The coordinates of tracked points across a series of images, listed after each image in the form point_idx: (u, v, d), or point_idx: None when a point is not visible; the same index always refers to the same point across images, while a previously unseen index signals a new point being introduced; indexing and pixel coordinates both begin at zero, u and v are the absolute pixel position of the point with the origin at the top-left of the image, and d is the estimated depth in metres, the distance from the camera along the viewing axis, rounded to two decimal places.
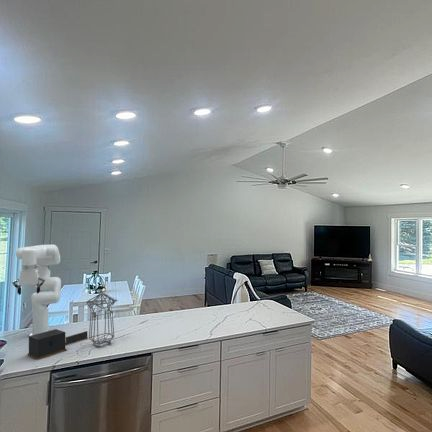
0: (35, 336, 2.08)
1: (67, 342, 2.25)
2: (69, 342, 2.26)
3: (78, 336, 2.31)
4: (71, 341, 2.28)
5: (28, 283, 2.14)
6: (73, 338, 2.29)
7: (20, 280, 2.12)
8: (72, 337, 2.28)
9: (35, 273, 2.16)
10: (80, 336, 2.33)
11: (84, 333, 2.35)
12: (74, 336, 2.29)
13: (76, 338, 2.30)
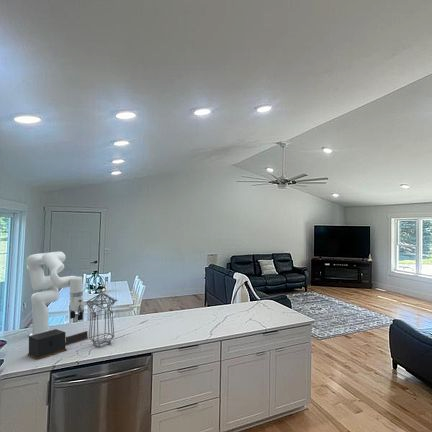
0: (35, 336, 2.08)
1: (67, 342, 2.25)
2: (69, 342, 2.26)
3: (78, 336, 2.31)
4: (71, 341, 2.28)
5: (73, 309, 2.29)
6: (73, 338, 2.29)
7: (70, 305, 2.31)
8: (72, 337, 2.28)
9: (76, 301, 2.27)
10: (80, 336, 2.33)
11: (84, 333, 2.35)
12: (74, 336, 2.29)
13: (76, 338, 2.30)
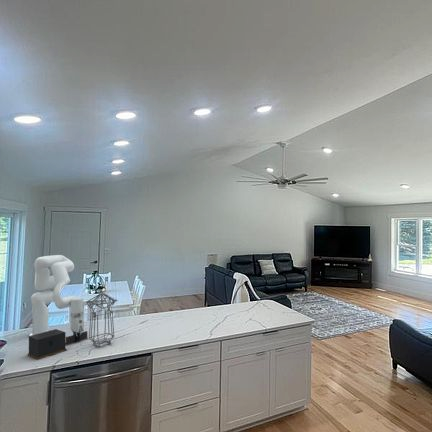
0: (35, 336, 2.08)
1: (67, 342, 2.25)
2: (69, 342, 2.26)
3: None
4: (71, 341, 2.28)
5: (73, 330, 2.29)
6: (73, 338, 2.29)
7: (70, 326, 2.31)
8: (72, 337, 2.28)
9: (76, 322, 2.27)
10: (80, 336, 2.33)
11: (84, 333, 2.35)
12: (74, 336, 2.29)
13: None
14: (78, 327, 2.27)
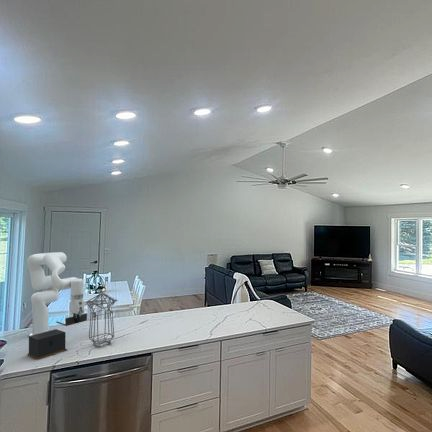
0: (35, 336, 2.08)
1: (67, 323, 2.26)
2: (69, 323, 2.27)
3: None
4: (71, 322, 2.28)
5: (73, 311, 2.29)
6: (73, 320, 2.29)
7: (70, 307, 2.31)
8: (72, 318, 2.28)
9: (76, 303, 2.28)
10: (80, 318, 2.33)
11: (84, 315, 2.35)
12: (74, 318, 2.29)
13: None
14: (78, 309, 2.28)
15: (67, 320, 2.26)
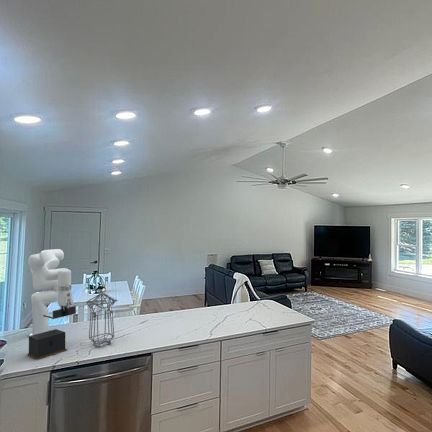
0: (35, 336, 2.08)
1: (54, 316, 2.14)
2: (56, 316, 2.15)
3: None
4: (58, 315, 2.17)
5: (61, 304, 2.18)
6: (60, 313, 2.18)
7: (57, 300, 2.20)
8: (59, 311, 2.17)
9: (64, 295, 2.17)
10: (68, 311, 2.22)
11: (72, 308, 2.24)
12: (62, 310, 2.18)
13: None
14: (66, 300, 2.17)
15: (54, 313, 2.15)
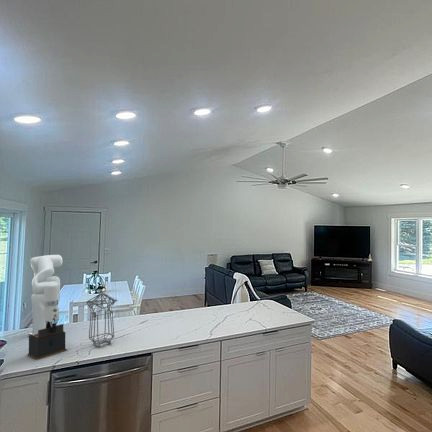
0: None
1: (39, 336, 2.04)
2: (42, 336, 2.05)
3: None
4: (44, 335, 2.06)
5: (47, 320, 2.08)
6: (47, 332, 2.07)
7: (44, 315, 2.10)
8: (45, 330, 2.07)
9: (50, 310, 2.06)
10: None
11: (59, 326, 2.14)
12: (48, 329, 2.08)
13: None
14: (52, 316, 2.06)
15: (40, 332, 2.04)
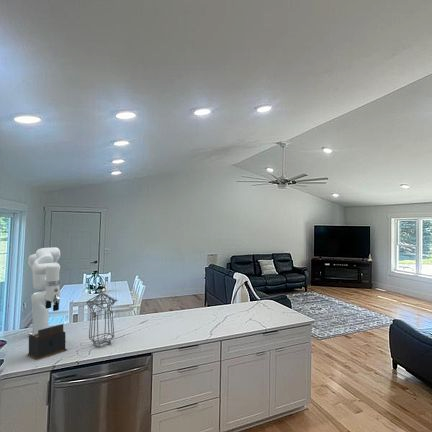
0: None
1: (39, 336, 2.04)
2: (42, 336, 2.05)
3: (52, 330, 2.10)
4: (44, 335, 2.06)
5: (48, 299, 2.15)
6: (47, 332, 2.07)
7: (45, 295, 2.17)
8: (45, 330, 2.07)
9: (51, 290, 2.13)
10: (55, 330, 2.11)
11: (59, 326, 2.14)
12: (48, 329, 2.08)
13: (50, 332, 2.09)
14: (53, 296, 2.13)
15: (40, 332, 2.04)
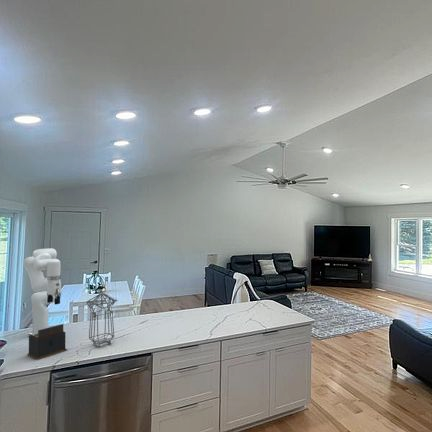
0: None
1: (39, 336, 2.04)
2: (42, 336, 2.05)
3: (52, 330, 2.10)
4: (44, 335, 2.06)
5: (50, 293, 2.24)
6: (47, 332, 2.07)
7: (47, 289, 2.26)
8: (45, 330, 2.07)
9: (53, 284, 2.22)
10: (55, 330, 2.11)
11: (59, 326, 2.14)
12: (48, 329, 2.08)
13: (50, 332, 2.09)
14: (55, 290, 2.22)
15: (40, 332, 2.04)
